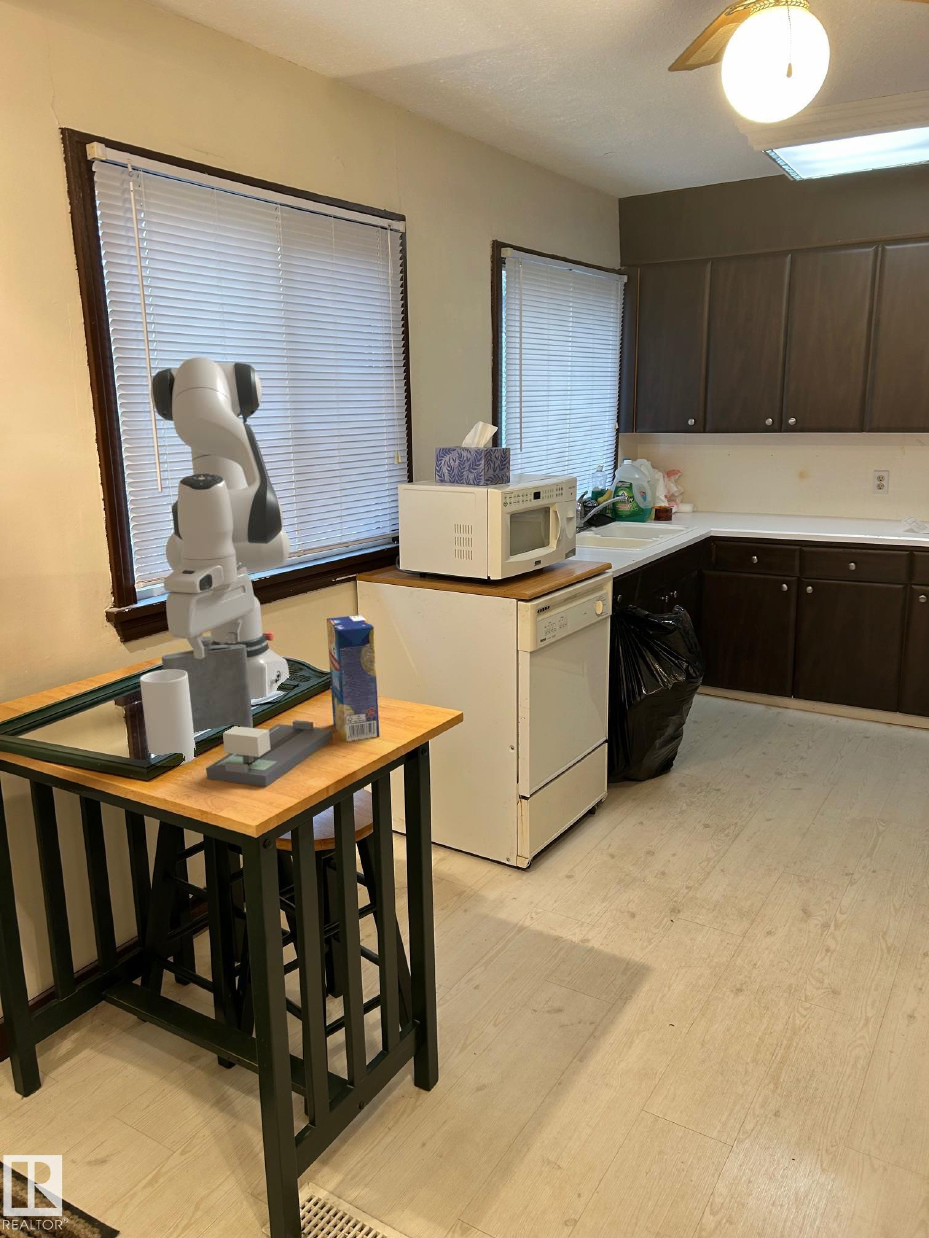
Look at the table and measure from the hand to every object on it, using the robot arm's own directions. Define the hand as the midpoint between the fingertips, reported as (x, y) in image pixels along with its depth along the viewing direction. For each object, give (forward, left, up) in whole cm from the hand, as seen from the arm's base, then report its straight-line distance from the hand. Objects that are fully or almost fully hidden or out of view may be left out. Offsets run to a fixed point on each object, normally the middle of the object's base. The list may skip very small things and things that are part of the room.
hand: (217, 649), depth 155 cm
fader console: (-6, +5, -22) cm, 23 cm away
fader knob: (+2, +5, -20) cm, 20 cm away
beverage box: (-23, +13, -22) cm, 35 cm away
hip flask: (-12, -13, -22) cm, 28 cm away
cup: (0, -13, -22) cm, 25 cm away
